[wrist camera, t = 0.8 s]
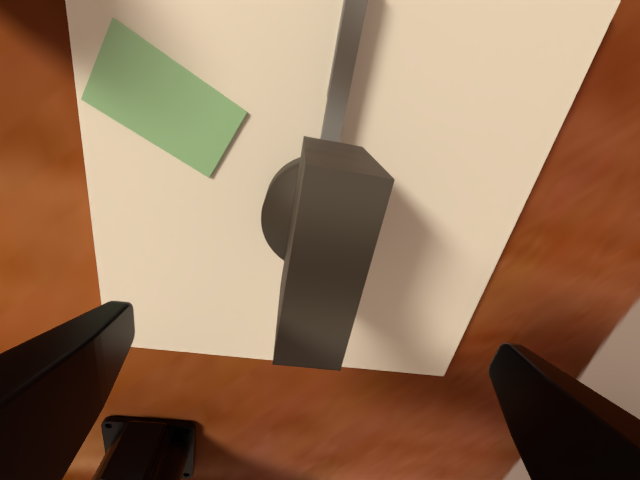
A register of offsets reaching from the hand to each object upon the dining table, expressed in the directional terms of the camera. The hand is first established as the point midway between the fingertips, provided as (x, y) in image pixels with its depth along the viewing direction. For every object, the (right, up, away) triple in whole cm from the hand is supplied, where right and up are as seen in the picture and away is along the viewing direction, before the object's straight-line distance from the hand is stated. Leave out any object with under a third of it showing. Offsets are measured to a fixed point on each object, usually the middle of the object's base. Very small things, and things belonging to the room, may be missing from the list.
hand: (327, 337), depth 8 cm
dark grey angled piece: (0, +7, +7) cm, 10 cm away
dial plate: (0, +5, +10) cm, 11 cm away
